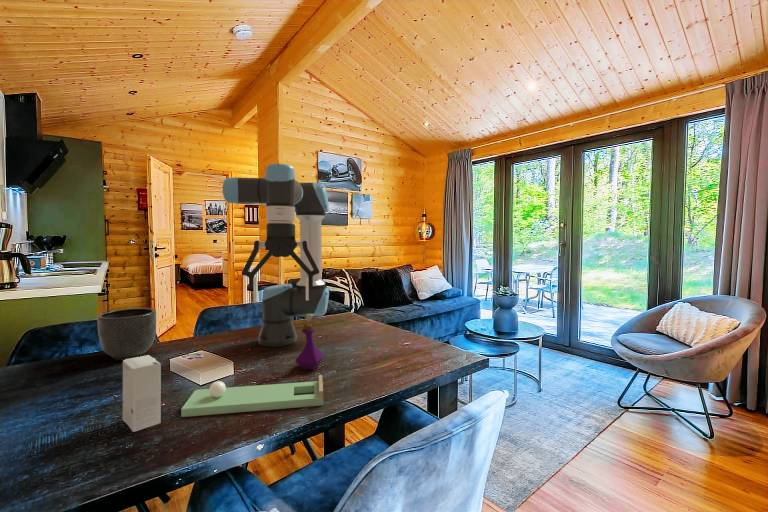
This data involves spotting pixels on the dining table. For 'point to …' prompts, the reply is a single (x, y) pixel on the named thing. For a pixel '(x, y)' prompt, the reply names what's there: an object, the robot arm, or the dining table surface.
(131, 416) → the skincare box
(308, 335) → the perfume bottle
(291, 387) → the green
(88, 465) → the dining table surface
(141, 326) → the planter
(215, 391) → the ball
